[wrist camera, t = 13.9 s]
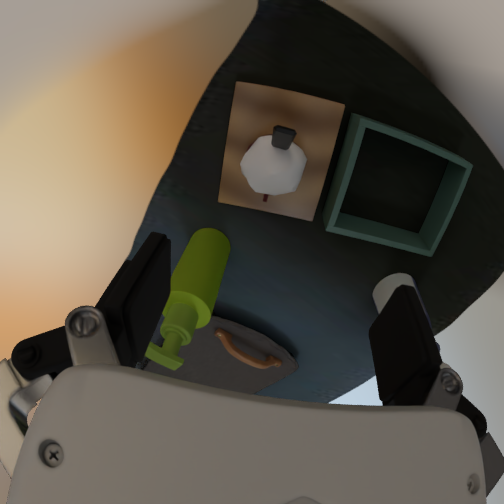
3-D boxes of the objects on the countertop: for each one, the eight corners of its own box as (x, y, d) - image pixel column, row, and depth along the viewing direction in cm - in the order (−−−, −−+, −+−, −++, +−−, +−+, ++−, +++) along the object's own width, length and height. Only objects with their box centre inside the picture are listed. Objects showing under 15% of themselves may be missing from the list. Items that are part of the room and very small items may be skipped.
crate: (351, 112, 29) (360, 117, 25) (455, 154, 29) (473, 165, 25) (321, 213, 37) (325, 230, 33) (420, 239, 37) (431, 257, 33)
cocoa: (274, 197, 35) (269, 254, 25) (231, 168, 33) (206, 214, 23) (325, 137, 30) (345, 170, 20) (279, 103, 28) (276, 117, 18)
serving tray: (210, 406, 72) (206, 425, 67) (134, 370, 66) (127, 390, 61) (312, 350, 53) (312, 377, 47) (208, 290, 46) (199, 318, 41)
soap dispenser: (198, 215, 39) (139, 327, 22) (238, 244, 41) (207, 366, 24) (177, 242, 42) (120, 352, 25) (215, 268, 44) (178, 384, 27)
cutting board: (238, 81, 28) (236, 81, 27) (342, 104, 29) (345, 105, 27) (220, 197, 37) (217, 202, 36) (311, 216, 37) (312, 221, 36)
